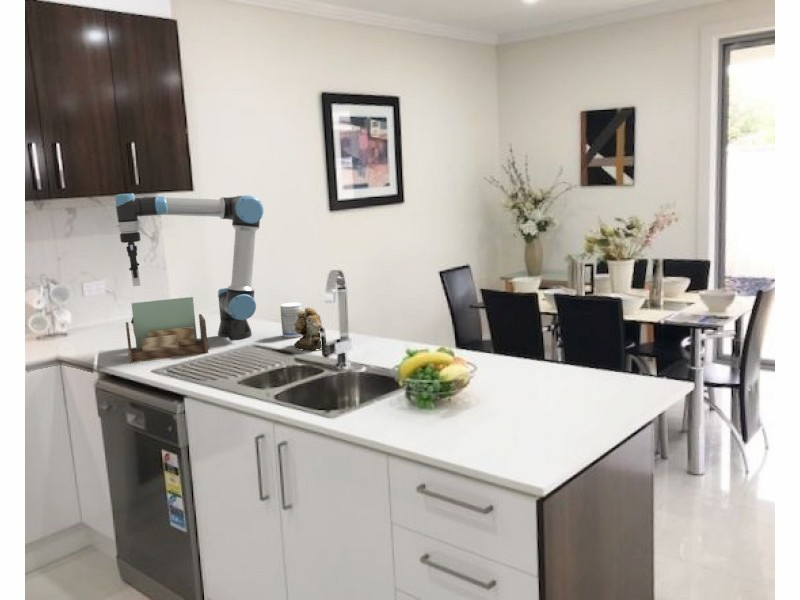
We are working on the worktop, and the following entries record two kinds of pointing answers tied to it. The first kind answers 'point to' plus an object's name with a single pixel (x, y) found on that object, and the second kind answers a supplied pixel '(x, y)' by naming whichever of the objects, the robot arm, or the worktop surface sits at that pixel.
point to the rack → (180, 351)
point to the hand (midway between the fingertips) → (136, 283)
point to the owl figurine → (308, 329)
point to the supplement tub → (290, 319)
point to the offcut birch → (159, 343)
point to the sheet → (162, 316)
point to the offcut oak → (183, 334)
